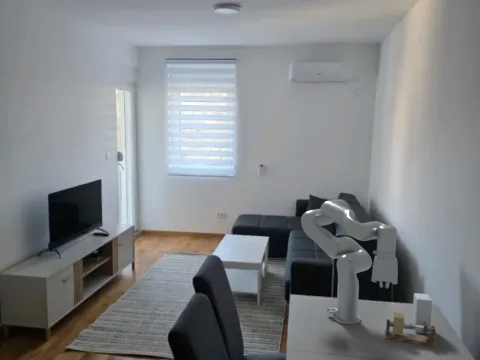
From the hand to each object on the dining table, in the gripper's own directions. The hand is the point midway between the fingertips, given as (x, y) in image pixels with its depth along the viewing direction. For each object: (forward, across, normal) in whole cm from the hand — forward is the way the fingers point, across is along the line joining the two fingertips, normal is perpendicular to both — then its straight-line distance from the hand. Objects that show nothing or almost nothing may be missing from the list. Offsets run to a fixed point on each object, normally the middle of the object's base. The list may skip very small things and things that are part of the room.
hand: (383, 295), depth 192 cm
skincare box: (+19, +17, +12) cm, 28 cm away
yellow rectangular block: (+15, +7, 0) cm, 16 cm away
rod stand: (+18, +12, 0) cm, 22 cm away
